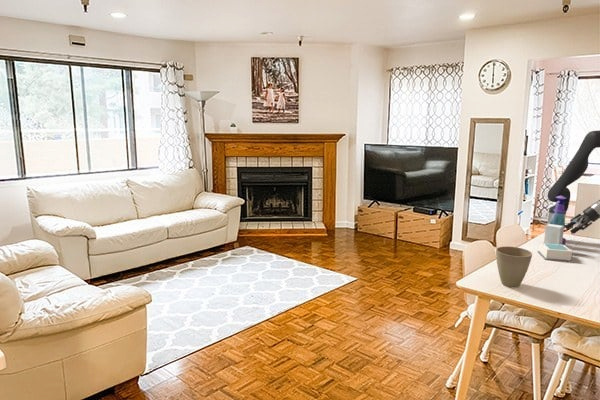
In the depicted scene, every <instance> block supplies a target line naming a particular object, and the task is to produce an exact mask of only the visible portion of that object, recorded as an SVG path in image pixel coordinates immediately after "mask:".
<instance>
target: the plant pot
mask: <svg viewBox="0 0 600 400" xmlns="http://www.w3.org/2000/svg"><path fill="white" fill-rule="evenodd" d="M495 256H496V257H495V258H496V265H497V271H498V276H499V279H500V282H501V284H502V285H503V286H505V287H508V288H518V287H520V286H521V284H522V282H523V280H524V279H525V276H526V274H527V272H528V270H529V267H530V264H531V260H532V257H533V252H532V251H530V250H528V249H525V248H522V247H518V246H508V245H507V246H506V245H505V246H498V247H496V249H495Z"/></svg>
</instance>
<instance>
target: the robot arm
mask: <svg viewBox="0 0 600 400" xmlns="http://www.w3.org/2000/svg"><path fill="white" fill-rule="evenodd" d="M596 148H600V130H592V131H589V132H588V133H587V134H586V135H585V137H584V138H583V141H582V142H581V144H580V146H579V148H578V149H577V151H576V153H575V154H574V156H573V157H572V159H571V160H570V161H569V163H568V164H567V166H566V168H565V169H564V171H563V172H562V173H561V175H560V176H559V178H557V180H556V181H555V182H554V184H553V185H552V186H551V187H550V188H549V190H548V192H547V199H548V201H549V202H551V203H555V204H554V205H552V206H551V207H549V209H548V216H547V222H546V225H547V224H550V222H551V219H552V216H553V214H554V209H555V205H556V203H557V198H556V197H558V196H563V197H565V198H566V199H564V206H565V207H564V211H565V213H564V214H563V215H564V220H565V221H566V216H567V215H566V214H567V211H568V210H569V207H570V206H569V205H570V200H571V191H570V189H569V188H568V186H570V185H571V184H573V183H574V182H576V181H577V180H579V179H580V178H581V177H582V176H583V175H584V174H585V172H586V171H587V169H588V167H589V157H590V155H591V154H592V152H593V151H594V150H595V149H596ZM582 213H583V214H581V213H578V214H577V215H575V216H574V217H573V218H570V220H569V221H570V222H569V223H567V224H565V229H566V230H570V232H571V234H573V235H574V234H576V233H577V232H578V231H584V230H585V229H587V228H589V226H591V225H592V224H593V222H596V221H598V219H600V199H599V200H598V201H596V202H594V203H592V204H591V205H589V206H588V207H586V209H584V210H583V211H582ZM576 225H577V226H576ZM573 226H575V227H573ZM572 227H573V228H572ZM571 228H572V229H571ZM565 229H564V230H565ZM564 230H563V232H564Z"/></svg>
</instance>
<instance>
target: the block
mask: <svg viewBox="0 0 600 400" xmlns="http://www.w3.org/2000/svg"><path fill="white" fill-rule="evenodd" d="M539 251H540V252H541V253H542V255H543V256H544V257H545V258H548V259H560V260H568V261H571V260H572V256H573V251H572V250H571V249H570V248H569V247H567V246H566V244H565V245H558V244H546V243H544V242H543V243H542V242H541V243H540V247H539Z"/></svg>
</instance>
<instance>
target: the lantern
mask: <svg viewBox="0 0 600 400" xmlns="http://www.w3.org/2000/svg"><path fill="white" fill-rule="evenodd" d="M556 198H557V202H555V204H556V205H555V204H554V205H555V209H554V214H553V216H552V219H551V222H550V224H554V225H561V226H564V230H565V229H566V228H565V226H566V223H565V222H566V219H565V220H564V215H563V214H564V213H565V211H564V207H565V206H564V199H566V198H565V197H563V196H558V197H556ZM566 242H567V241H566V238H565V237H563V241H562V245H565V246H566V244H567V243H566Z"/></svg>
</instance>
